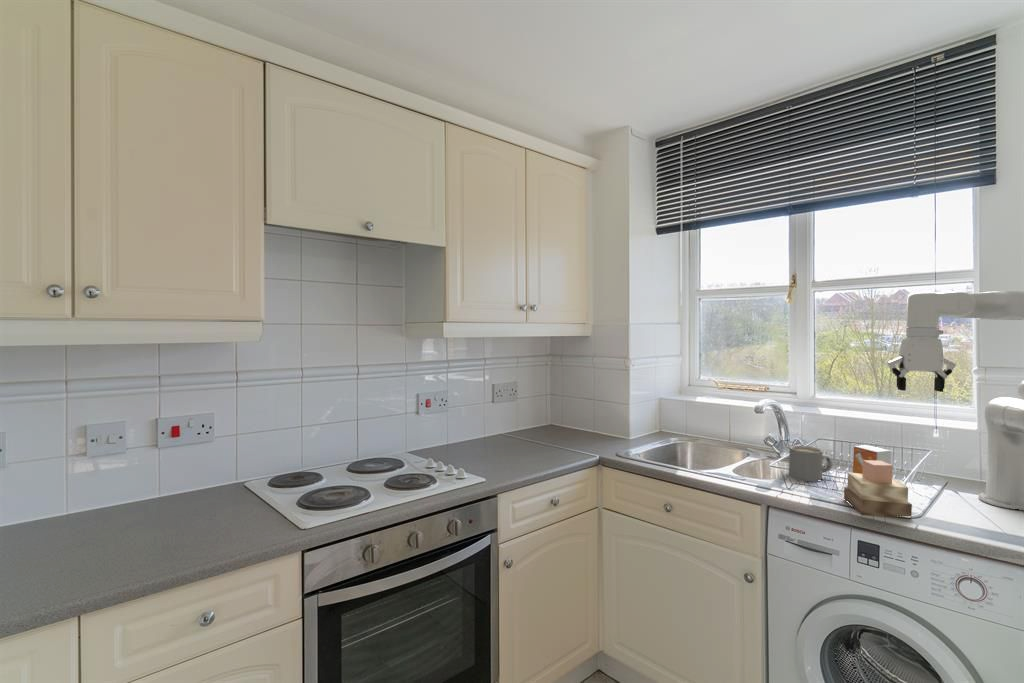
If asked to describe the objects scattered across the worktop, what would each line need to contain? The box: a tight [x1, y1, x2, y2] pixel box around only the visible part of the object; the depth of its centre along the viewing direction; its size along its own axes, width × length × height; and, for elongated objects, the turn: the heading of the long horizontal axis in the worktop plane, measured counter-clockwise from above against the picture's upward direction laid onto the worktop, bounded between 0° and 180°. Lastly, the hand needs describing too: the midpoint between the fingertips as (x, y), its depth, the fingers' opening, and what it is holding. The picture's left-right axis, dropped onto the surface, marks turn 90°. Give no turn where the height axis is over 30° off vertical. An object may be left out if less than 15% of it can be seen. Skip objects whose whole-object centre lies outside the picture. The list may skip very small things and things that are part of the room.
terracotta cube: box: [862, 460, 893, 483], centre depth 145 cm, size 5×5×5 cm
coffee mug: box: [788, 444, 833, 482], centre depth 174 cm, size 13×10×10 cm
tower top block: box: [847, 472, 909, 504], centre depth 145 cm, size 11×11×4 cm
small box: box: [852, 444, 892, 474], centre depth 164 cm, size 8×6×13 cm
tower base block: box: [843, 486, 913, 518], centre depth 146 cm, size 12×12×4 cm
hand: (920, 390), depth 152 cm, fingers open, 9 cm apart
